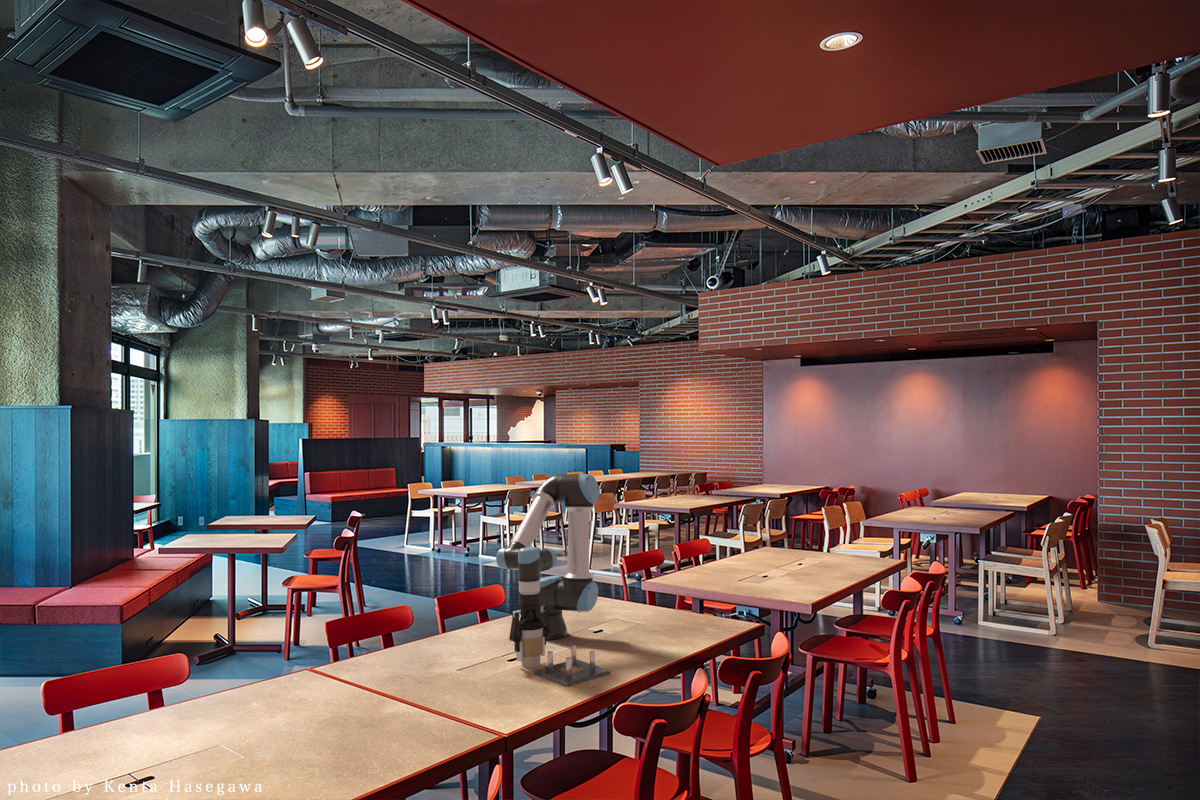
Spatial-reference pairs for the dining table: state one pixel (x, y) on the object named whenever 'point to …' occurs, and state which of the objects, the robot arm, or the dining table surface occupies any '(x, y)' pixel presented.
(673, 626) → the dining table surface
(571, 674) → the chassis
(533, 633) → the coffee cup
